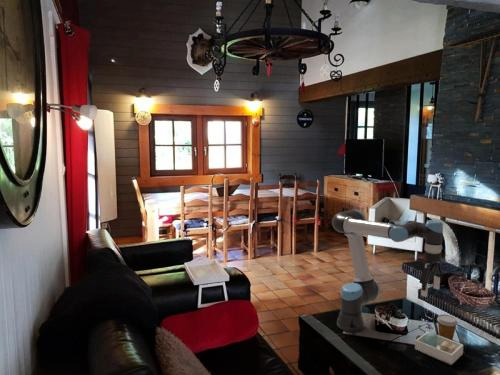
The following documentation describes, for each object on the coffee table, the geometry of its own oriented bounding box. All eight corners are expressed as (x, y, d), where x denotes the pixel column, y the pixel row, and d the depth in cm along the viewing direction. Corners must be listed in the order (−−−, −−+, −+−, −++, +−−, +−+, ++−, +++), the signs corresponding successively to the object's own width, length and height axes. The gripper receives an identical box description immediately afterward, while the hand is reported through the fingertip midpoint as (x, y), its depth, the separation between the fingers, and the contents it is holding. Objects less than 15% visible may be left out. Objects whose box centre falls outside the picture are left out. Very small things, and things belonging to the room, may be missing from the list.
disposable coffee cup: (458, 345, 199) (460, 323, 197) (438, 343, 201) (439, 321, 199) (452, 335, 208) (454, 314, 206) (433, 334, 210) (435, 313, 208)
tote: (414, 349, 195) (415, 340, 194) (427, 340, 204) (427, 331, 203) (451, 365, 182) (452, 355, 181) (462, 354, 191) (463, 344, 190)
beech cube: (439, 353, 190) (440, 344, 189) (444, 350, 193) (445, 341, 192) (450, 358, 186) (450, 348, 186) (454, 354, 189) (455, 345, 189)
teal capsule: (424, 347, 196) (424, 334, 195) (428, 343, 199) (429, 331, 198) (434, 351, 192) (435, 338, 191) (438, 347, 195) (439, 334, 194)
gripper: (429, 259, 181) (426, 301, 184) (451, 248, 197) (448, 288, 200) (413, 255, 186) (411, 297, 189) (436, 245, 203) (433, 283, 206)
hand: (430, 292), depth 195 cm, fingers open, 13 cm apart
